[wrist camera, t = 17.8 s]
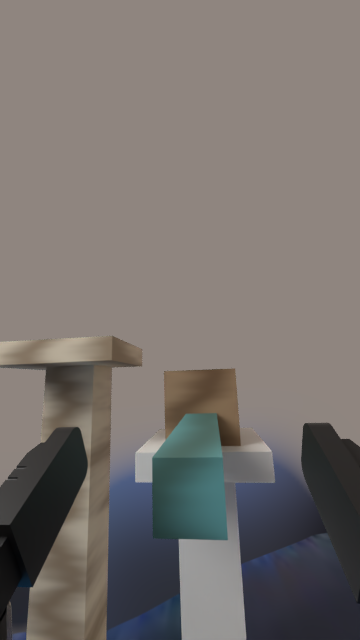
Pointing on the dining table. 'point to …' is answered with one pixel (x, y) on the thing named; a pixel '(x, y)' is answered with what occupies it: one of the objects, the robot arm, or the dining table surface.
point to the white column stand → (215, 545)
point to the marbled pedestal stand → (93, 497)
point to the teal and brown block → (194, 454)
